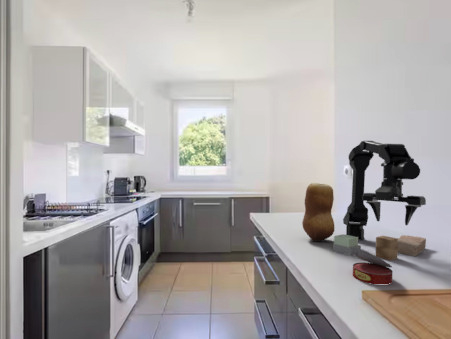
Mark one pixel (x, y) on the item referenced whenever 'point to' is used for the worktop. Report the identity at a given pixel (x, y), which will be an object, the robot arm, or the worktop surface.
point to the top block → (346, 240)
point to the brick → (410, 245)
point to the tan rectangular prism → (386, 247)
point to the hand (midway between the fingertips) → (391, 223)
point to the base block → (345, 249)
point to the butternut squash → (318, 212)
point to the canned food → (371, 268)
